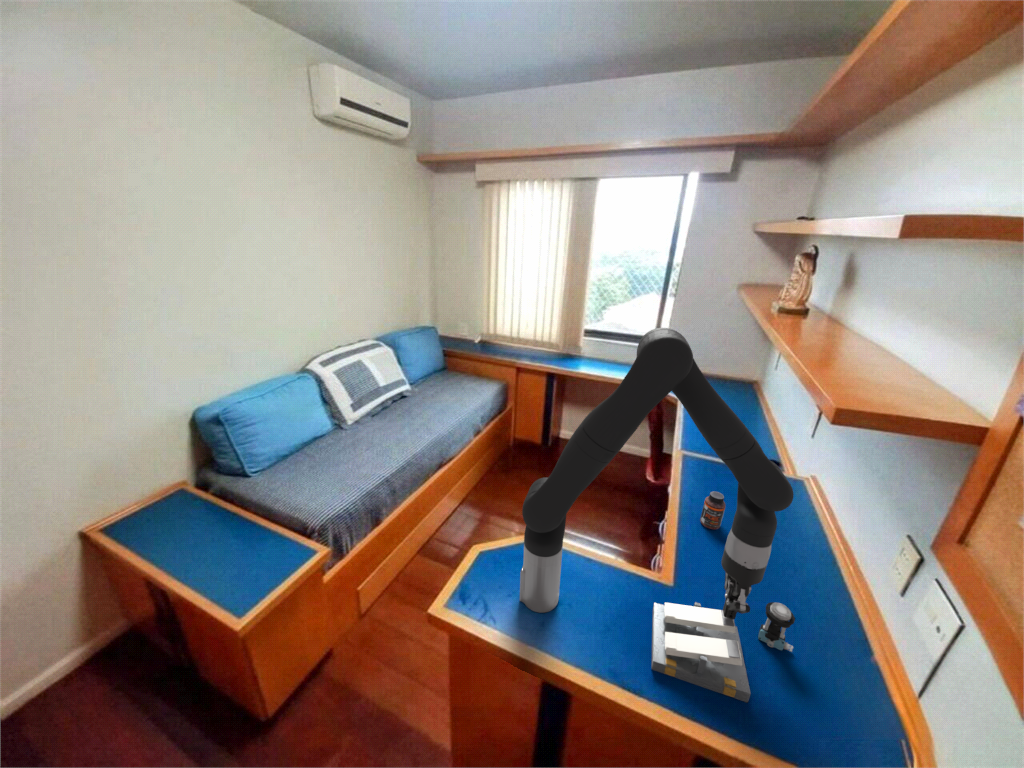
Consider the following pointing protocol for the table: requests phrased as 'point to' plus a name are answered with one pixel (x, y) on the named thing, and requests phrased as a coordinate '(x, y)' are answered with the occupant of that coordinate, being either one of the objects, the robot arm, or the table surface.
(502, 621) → the table surface
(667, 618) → the rocker back
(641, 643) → the table surface
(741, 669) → the switch unit
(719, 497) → the supplement bottle
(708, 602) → the table surface
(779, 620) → the push button
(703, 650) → the rocker front
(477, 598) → the table surface
